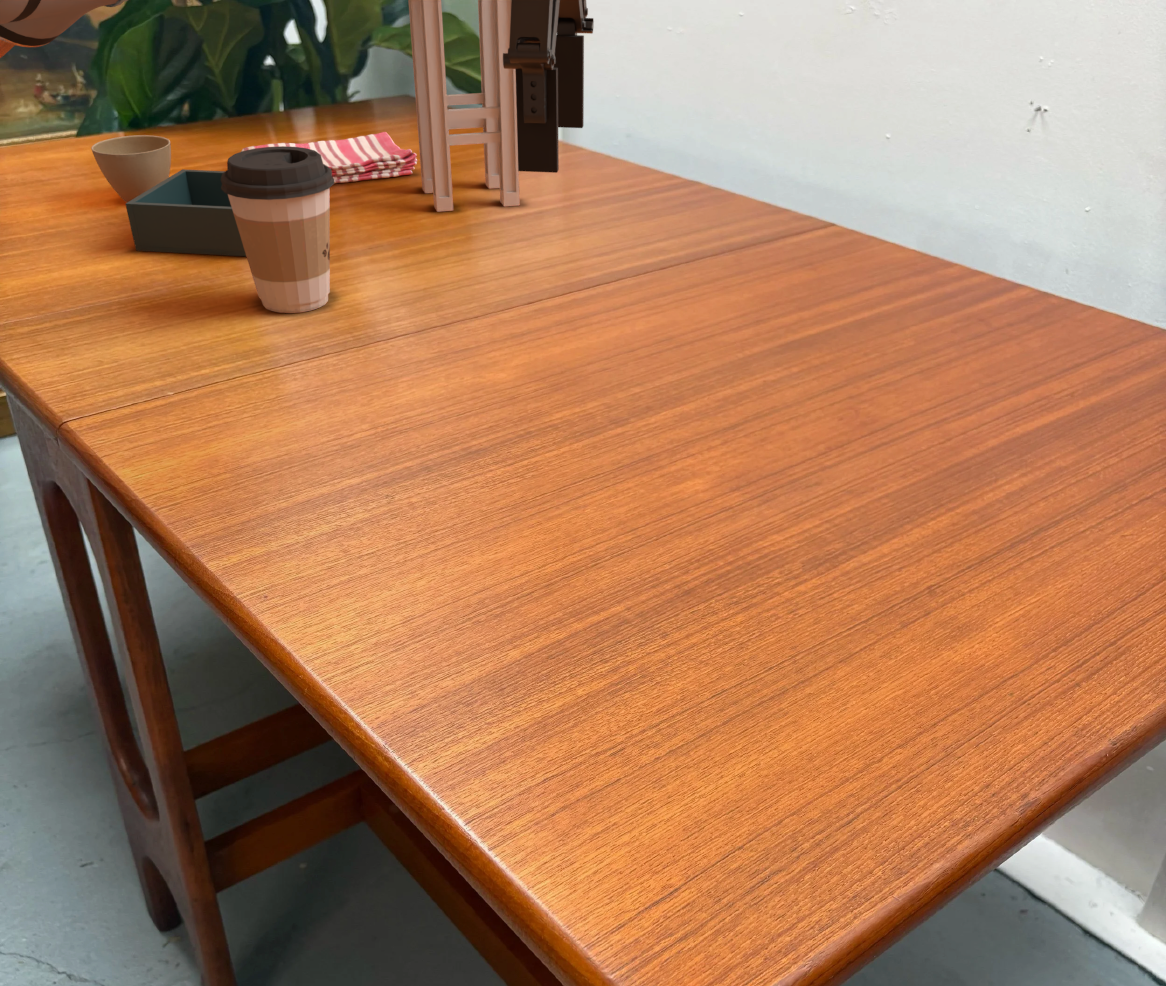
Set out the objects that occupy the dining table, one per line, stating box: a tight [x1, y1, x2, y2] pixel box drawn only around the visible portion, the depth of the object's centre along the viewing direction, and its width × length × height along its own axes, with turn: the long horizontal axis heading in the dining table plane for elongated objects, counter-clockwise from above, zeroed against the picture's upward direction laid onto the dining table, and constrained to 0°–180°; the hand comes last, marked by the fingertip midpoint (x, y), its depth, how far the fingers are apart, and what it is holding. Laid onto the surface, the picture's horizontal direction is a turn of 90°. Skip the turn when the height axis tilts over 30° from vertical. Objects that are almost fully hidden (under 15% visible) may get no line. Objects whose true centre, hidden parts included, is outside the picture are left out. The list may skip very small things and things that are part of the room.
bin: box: [125, 168, 246, 257], centre depth 137 cm, size 16×16×6 cm
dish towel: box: [240, 131, 418, 184], centre depth 163 cm, size 17×23×4 cm
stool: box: [408, 0, 521, 213], centre depth 142 cm, size 16×16×35 cm
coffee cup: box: [221, 146, 335, 314], centre depth 115 cm, size 11×11×15 cm
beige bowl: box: [90, 134, 172, 203], centre depth 148 cm, size 10×10×7 cm
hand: (553, 147), depth 82 cm, fingers open, 13 cm apart
